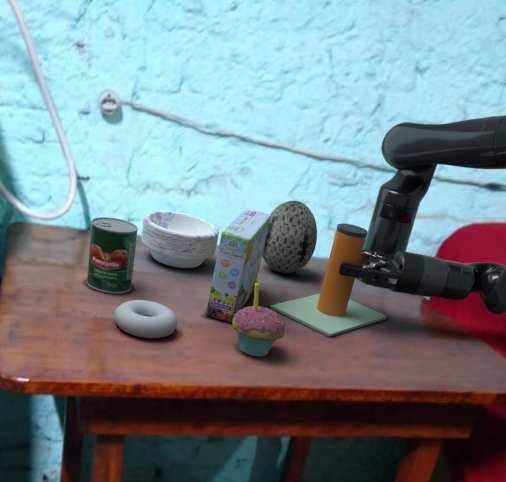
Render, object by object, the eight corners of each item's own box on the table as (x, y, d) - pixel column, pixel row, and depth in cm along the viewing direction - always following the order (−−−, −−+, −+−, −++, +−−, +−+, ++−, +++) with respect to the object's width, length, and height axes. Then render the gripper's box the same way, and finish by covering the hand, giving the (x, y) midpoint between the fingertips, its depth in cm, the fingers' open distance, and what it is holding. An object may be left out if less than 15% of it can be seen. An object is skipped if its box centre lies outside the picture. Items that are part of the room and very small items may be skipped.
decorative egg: (288, 262, 166) (304, 194, 159) (318, 281, 158) (335, 211, 151) (244, 261, 160) (258, 191, 152) (273, 282, 152) (289, 208, 144)
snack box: (235, 324, 128) (251, 239, 120) (203, 316, 128) (218, 230, 121) (257, 289, 146) (272, 212, 139) (229, 282, 147) (243, 205, 139)
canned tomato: (126, 279, 137) (133, 219, 131) (135, 295, 131) (142, 233, 125) (83, 276, 134) (88, 215, 128) (89, 292, 128) (95, 229, 122)
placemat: (329, 293, 153) (330, 290, 153) (386, 318, 146) (387, 316, 146) (270, 308, 139) (270, 305, 138) (329, 337, 132) (330, 333, 132)
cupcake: (242, 362, 115) (257, 289, 109) (218, 339, 121) (231, 268, 115) (288, 360, 119) (305, 289, 113) (263, 338, 125) (278, 269, 119)
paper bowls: (211, 279, 146) (218, 239, 142) (134, 264, 144) (139, 224, 140) (214, 256, 159) (221, 219, 155) (144, 243, 157) (148, 205, 153)
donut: (160, 348, 114) (185, 327, 122) (163, 328, 112) (188, 308, 121) (102, 329, 116) (130, 310, 124) (103, 309, 114) (132, 291, 122)
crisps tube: (327, 303, 145) (348, 222, 137) (350, 314, 143) (373, 231, 135) (311, 307, 141) (331, 224, 133) (334, 318, 139) (357, 234, 131)
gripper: (413, 244, 144) (333, 229, 141) (435, 267, 132) (347, 252, 129) (402, 281, 148) (324, 267, 145) (422, 307, 136) (337, 293, 133)
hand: (335, 260), depth 137 cm, fingers open, 8 cm apart
